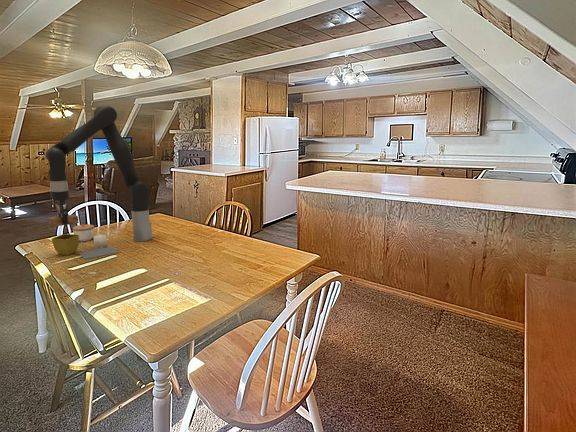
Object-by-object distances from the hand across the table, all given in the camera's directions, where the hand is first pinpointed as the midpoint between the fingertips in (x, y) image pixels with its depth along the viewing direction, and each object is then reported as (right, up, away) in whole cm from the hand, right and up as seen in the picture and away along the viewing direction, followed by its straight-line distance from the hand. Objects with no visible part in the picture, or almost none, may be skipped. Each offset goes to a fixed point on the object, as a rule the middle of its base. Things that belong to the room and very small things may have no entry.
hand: (63, 223), depth 184 cm
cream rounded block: (+11, -13, +15) cm, 22 cm away
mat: (+15, -15, +4) cm, 22 cm away
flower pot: (0, -16, +3) cm, 16 cm away
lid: (0, 0, 0) cm, 0 cm away
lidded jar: (-4, -10, +27) cm, 29 cm away
